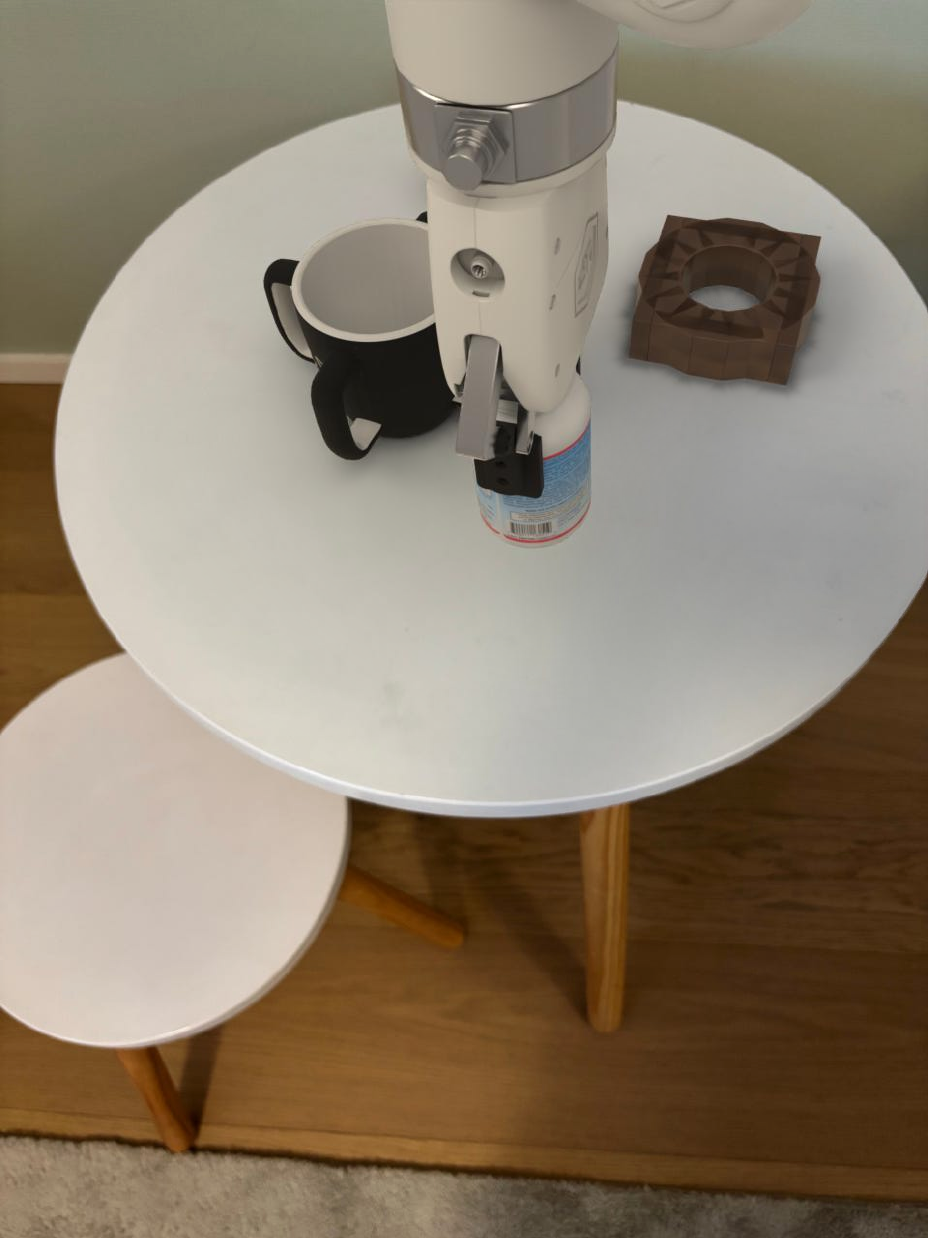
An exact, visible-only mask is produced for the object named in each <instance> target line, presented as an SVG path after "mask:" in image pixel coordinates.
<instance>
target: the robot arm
mask: <svg viewBox="0 0 928 1238" xmlns="http://www.w3.org/2000/svg"><path fill="white" fill-rule="evenodd" d="M383 1H384V6H385V14H386V19H387V27H388V31H389V32H388V33H389V38H390V45H391V51H392V57H393V63H394V69H395V77H396V82H397V88H398V95H399V102H400V108H401V113H402V121H403V127H404V131H405V140H406V145H407V150H408V154H409V155H410V159H411V160H412V161H413V163H414V165H415V166H416V168H418V170H419V171H421V173H422V174H423V175H424V176H426V211H427V218H428V239H429V256H430V269H431V282H432V293H433V303H434V313H435V322H436V330H437V337H438V344H439V350H440V356H441V361H442V366H443V370H444V374H445V377H446V381H447V383H448V386H449V388H450V389H451V391H452V392H453V394H454V395H455V396H456V397H457V398H460V397H461V396H462V395H463V397H462V404H461V407H460V412H459V419H458V426H457V433H456V441H455V455H456V456H458V457H463V458H464V457H465V458H469V459H471V458H474V465H475V473H476V480H477V484H478V485H479V486H480V487H481V488H483V489H488V490H492V491H494V492H496V493H498V494H503V495H508V496H515V495H519V496H524V497H530V498H540V497H541V495H542V492H543V489H544V472H543V452H542V436H539V435H538V434H535V433H534V427H535V414H536V411H538V412H543V413H547V412H549V411H551V410H552V409H554V408H555V407H556V406H557V405H558V404H559V403H560V402H561V401H562V399H563V397H564V396H565V393H566V391H567V389H568V386H569V383H570V381H571V378H572V375H573V373H574V370H575V367H576V372H577V373H578V374H579V375H580V376H581V353H582V351H583V347H584V344H585V341H586V339H587V335H588V333H589V330H590V327H591V324H592V321H593V319H594V316H595V312H596V310H597V306H598V303H599V300H600V297H601V294H602V291H603V288H604V285H605V282H606V281H605V280H606V278H607V277H606V276H607V272H608V265H609V256H610V255H609V253H610V252H609V251H610V250H609V246H610V245H609V244H610V243H609V203H608V199H609V198H608V197H609V196H608V170H607V169H608V165H607V164H608V163H607V162H608V161H607V152H608V151H609V150H610V148H611V147H612V144H613V141H614V138H615V136H616V133H617V132H616V131H617V124H618V123H617V121H618V119H617V118H618V112H617V107H618V79H619V78H618V77H619V45H620V44H619V43H620V24H621V25H622V26H625V27H626V28H629V29H632V30H633V31H635V32H638V33H641V34H643V35H645V36H648V37H651V38H653V39H655V40H659V41H662V42H665V43H668V44H672V45H674V46H680V47H683V48H684V47H685V48H692V49H697V50H703V51H707V50H708V51H710V50H711V51H715V50H717V51H718V50H719V51H720V50H730V49H738V48H741V47H745V46H748V45H753V44H756V43H758V42H760V41H763V40H765V39H767V38H769V37H772V36H773V35H775V34H777V33H778V32H780V31H782V30H783V29H784V28H785V27H787V26H789V24H791V23H793V22H794V21H795V20H797V19H798V18H799V17H801V16H802V15H803V14H804V13H805V12H806V11H807V10H808V9H809V8H810V7H811V6H812V5H813V4H814V3H815V1H816V0H383ZM503 373H504V376H503ZM499 399H501V400H507V401H513V402H519V403H518V413H517V424H516V423H510V422H504V421H499V420H496V417H497V410H498V404H499Z"/></svg>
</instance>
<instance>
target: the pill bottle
mask: <svg viewBox="0 0 928 1238" xmlns="http://www.w3.org/2000/svg"><path fill="white" fill-rule="evenodd" d="M503 376H504V373H503ZM588 389H589V388H588V387H587V385H586V383H585V380H584V379H583V377H582V376H581V374H580V375H579V374H578V373H577V372H576V367H575V370H574V373H573V375H572V378H571V381H570V383H569V386H568V389H567V391H566V393H565V396H564V397H563V399H562V401H561V402H560V403H559V404H558V405H557V406H556V407H555V408H554V409H552V410H551V411H549V412H547V413H543V412H538V411H536V414H535V427H534V433H535V434H538V435H539V436H542V452H543V472H544V489H543V492H542V495H541V497H540V498H530V497H524V496H519V495H515V496H508V495H503V494H498V493H496V492H494V491H492V490H488V489H483V488H481V487H480V486H479V485H478V484H477V480H476V473H475V465H474V458H470V459H471V464H472V470H473V476H474V477H473V478H474V484H475V489H476V497H477V504H478V509H479V514H480V516H481V519H482V521H483V523H484V525H485V526H486V528H487V529H488V531H490V533H491V534H492V535H494V536H495V537H496V538H497V539H499V540H500V541H502V542H504V543H506V544H509V545H511V546H514V547H518V548H522V549H544V548H548V547H551V546H555V545H557V544H561V543H562V542H563V541H565V540H567V539H569V538H570V537H572V536H573V535H574V534H575V533H576V532H577V531H578V530H579V528H581V526H582V524H583V523H584V521H585V519H586V518H587V516H588V513H589V511H590V507H591V503H592V403H591V396H590V391H589V390H588ZM518 403H519V402H513V401H507V400H501V399H499V404H498V410H497V417H496V420H499V421H504V422H510V423H516V424H517V413H518Z"/></svg>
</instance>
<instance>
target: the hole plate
mask: <svg viewBox="0 0 928 1238" xmlns="http://www.w3.org/2000/svg"><path fill="white" fill-rule="evenodd" d="M821 240H822V236H821V235H814V234H808V233H802V232H801V233H800V232H793V231H786V230H779V229H777V228H775V227H773V226H772V225H769V224H767V223H764V222H761V221H754V220H746V219H740V218H733V217H721V218H713V219H702V218H695V217H687V216H680V215H673V214H667V215H666V217H665V221H664V223H663V227H662V229H661V233H660V235H659V238H658V241H657V242H656V243H655V244H654V245H652V247H651V248H650V249H649V250H647V252H645V255H644V257H643V260H642V263H641V266H640V269H639V272H638V275H637V283H636V284H637V286H636V297H635V298H636V301H635V310H634V313H633V316H632V319H631V331H630V345H629V359H633V360H638V361H643V362H650V363H655V364H661V365H667V366H670V367H672V368H674V369H676V370H678V371H679V372H682V373H683V374H685V375H689V376H694V377H699V378H706V379H711V380H717V381H724V382H725V381H731V380H732V381H733V380H739V379H748V380H753V381H758V382H764V383H769V384H776V385H782V386H787V383H788V380H789V377H790V372H791V369H792V366H793V365H792V364H793V361H794V358H795V354H797V352H798V351H799V350H800V348H802V346H803V345H804V344H806V343H805V342H806V340H807V336H808V333H809V329H810V325H811V322H812V319H813V314H814V311H815V307H816V303H817V298H818V294H819V289H820V285H821V281H822V279H821V277H820V273H819V270H818V268H817V265H816V262H817V258H818V253H819V249H820V245H821ZM716 286H726V287H732V288H739V289H740V290H743V291H744V292H747V293H749V294H751V295H753V296H755V297H756V299H758V300H759V301H760V303H758V304H755V305H753V306H751V307H749V308H744V309H736V310H723V309H717V308H712V307H708V306H706V305H705V304H702V303H701V302H699V301H697V300H695V299H693V298H692V296H691V295H690V294H692V293H693V292H696V291H698V290H700V289H702V288H708V287H716Z"/></svg>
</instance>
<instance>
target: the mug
mask: <svg viewBox="0 0 928 1238" xmlns="http://www.w3.org/2000/svg"><path fill="white" fill-rule="evenodd" d="M262 282H263V290H264V293H265V294H264V295H265V298H266V301H267V303H268V307H269V310H270V312H271V315H272V317H273V321H274V324H275V326H276V328H277V330H278V333H279V334H280V336H281V337H282V339H283V340H284V342H285V344H286V345H287V347H288V348H290V350H291V351H292V352H293V353H294V354H295V355H296V356H297V357H299V358H301V359H302V360H304V361H305V362H309V363H312V364H314V365H316V367H317V369H318V371H317V373H316V374H315V376H314V378H313V379H312V383H311V386H310V387H311V388H310V389H311V390H310V398H311V399H310V400H311V405H312V409H313V412H314V416H315V419H316V423H317V426H318V428H319V431H320V434H321V437H322V439H323V442H324V443H325V445H326V447H327V449H329V450H330V451H331V452H332V453H333V454H334V455H336V456H337V457H339V458H341V459H343V460H346V461H359V460H362V459H363V458H365V457H366V456H367V455H368V454H369V453H370V452H371V450H372V448H373V447H374V446H375V444H376V442H377V441H378V439H379V437H383V438H391V439H392V438H393V439H401V438H402V439H403V438H410V437H415V436H417V435H421V434H424V433H426V432H428V431H431V430H432V429H434V428H435V427H438V425H440V424H442V423H443V422H444V421H445V420H446V419H448V418H449V416H450V415H451V413H452V412H453V411H454V410H455V408H456V407H457V408H461V404H462V397H463V395H462V396H461V397H460V398H457V397H456V396H455V395H454V394H453V392H452V391H451V389H450V388H449V386H448V383H447V381H446V377H445V374H444V370H443V366H442V361H441V356H440V350H439V344H438V337H437V330H436V322H435V313H434V303H433V293H432V282H431V269H430V256H429V239H428V218H427V210H425V211H422V212H421V213H420V214H419V215H418V216H417V217H416V218H415V219H412V218H405V217H378V218H370V219H365V220H362V221H357V222H354V223H350V224H348V225H345V226H343V227H340V228H338V229H335V230H334V231H332V232H331V233H328V234H327V235H325V236H323V237H322V238H321V239H319V240H318V241H316V243H315V244H313V245H312V246H310V248H309V249H308V250H307V251H306V252H305V254H304V255H303V256H302V257H301V258H300V260H296V259H290V258H283V257H282V258H278V259H276V260H274V261H273V262H270V264H269V265H268V267H267V268H266V269H265V272H264V275H263V280H262ZM348 418H349V419H350V421H351V422H352V424H351V425H350V424H349V419H348Z"/></svg>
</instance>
